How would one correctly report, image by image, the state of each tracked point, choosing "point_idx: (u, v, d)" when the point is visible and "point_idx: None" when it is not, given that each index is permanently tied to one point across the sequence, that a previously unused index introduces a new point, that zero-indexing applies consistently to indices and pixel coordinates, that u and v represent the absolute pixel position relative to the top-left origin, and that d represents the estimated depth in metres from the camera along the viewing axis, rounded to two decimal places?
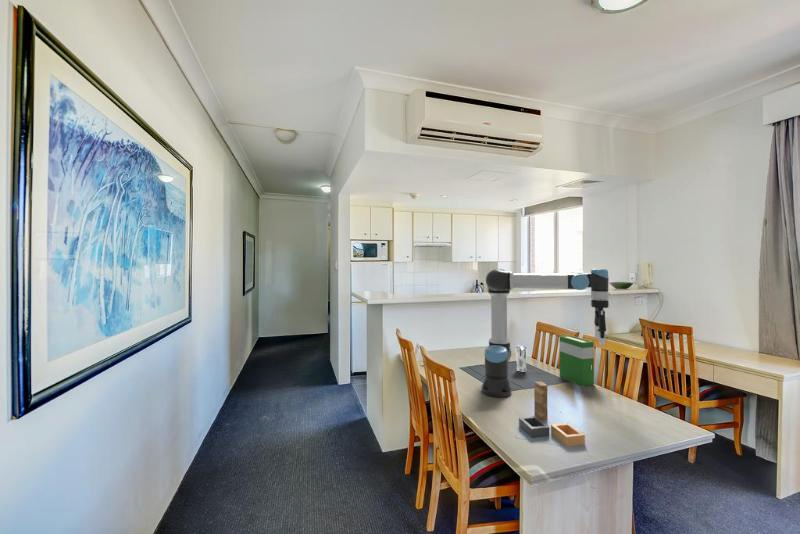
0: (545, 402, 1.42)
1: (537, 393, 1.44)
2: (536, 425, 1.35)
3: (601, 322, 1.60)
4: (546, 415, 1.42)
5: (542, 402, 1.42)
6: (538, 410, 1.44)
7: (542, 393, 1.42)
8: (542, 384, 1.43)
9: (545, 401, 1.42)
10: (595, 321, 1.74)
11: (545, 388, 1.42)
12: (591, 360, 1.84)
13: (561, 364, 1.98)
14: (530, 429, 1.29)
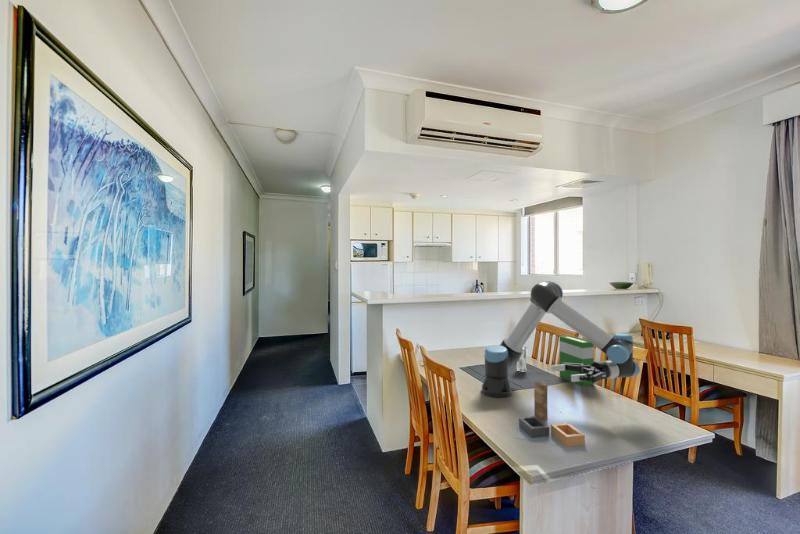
0: (545, 402, 1.42)
1: (537, 393, 1.44)
2: (536, 425, 1.35)
3: (598, 376, 1.39)
4: (546, 415, 1.42)
5: (542, 402, 1.42)
6: (538, 410, 1.44)
7: (542, 393, 1.42)
8: (542, 384, 1.43)
9: (545, 401, 1.42)
10: (570, 365, 1.53)
11: (545, 388, 1.42)
12: (591, 360, 1.84)
13: None
14: (530, 429, 1.29)
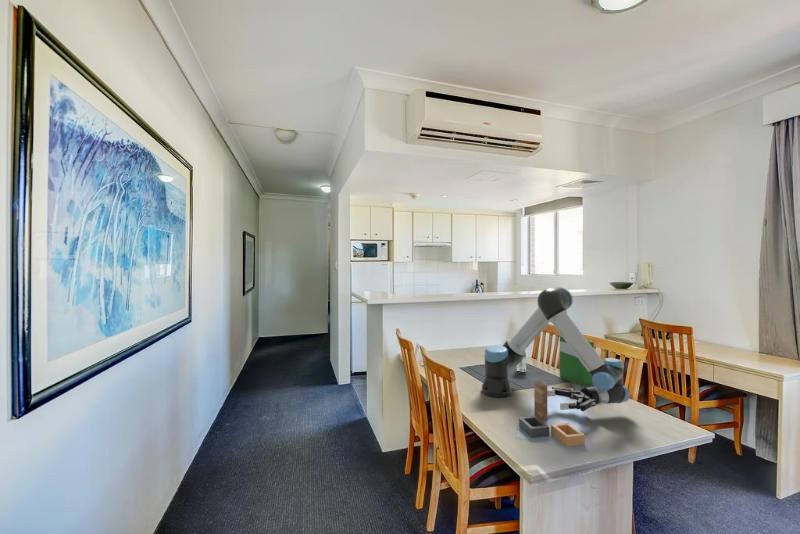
0: (545, 402, 1.42)
1: (537, 393, 1.44)
2: (536, 425, 1.35)
3: (587, 404, 1.38)
4: (546, 415, 1.42)
5: (542, 402, 1.42)
6: (538, 410, 1.44)
7: (542, 393, 1.42)
8: (542, 384, 1.43)
9: (545, 401, 1.42)
10: (560, 390, 1.52)
11: (545, 388, 1.42)
12: None
13: (561, 364, 1.98)
14: (530, 429, 1.29)
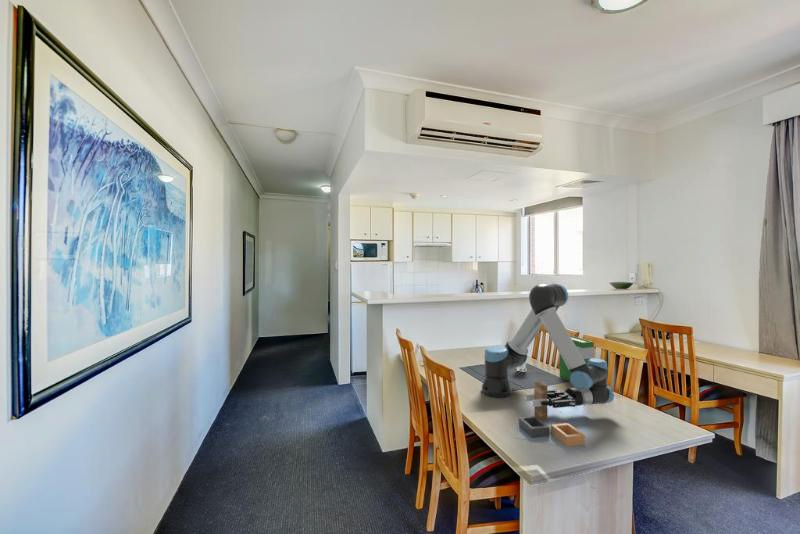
0: None
1: (537, 393, 1.44)
2: (536, 425, 1.35)
3: (562, 403, 1.39)
4: (546, 415, 1.42)
5: None
6: (538, 410, 1.44)
7: (542, 393, 1.42)
8: (542, 384, 1.43)
9: None
10: None
11: (545, 388, 1.42)
12: None
13: (561, 364, 1.98)
14: (530, 429, 1.29)
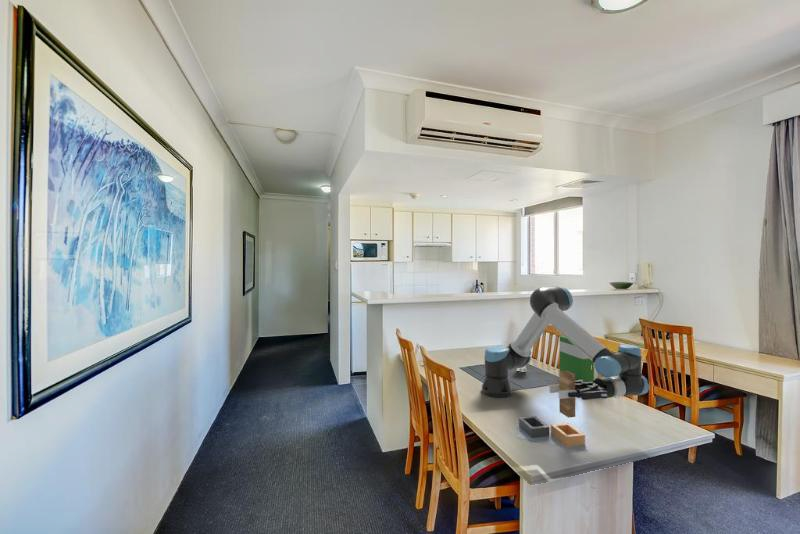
0: None
1: (563, 383, 1.27)
2: (536, 425, 1.35)
3: (592, 394, 1.22)
4: (574, 408, 1.25)
5: None
6: (564, 403, 1.26)
7: (569, 383, 1.24)
8: (569, 373, 1.26)
9: None
10: None
11: (572, 377, 1.25)
12: (591, 360, 1.84)
13: (561, 364, 1.98)
14: (530, 429, 1.29)
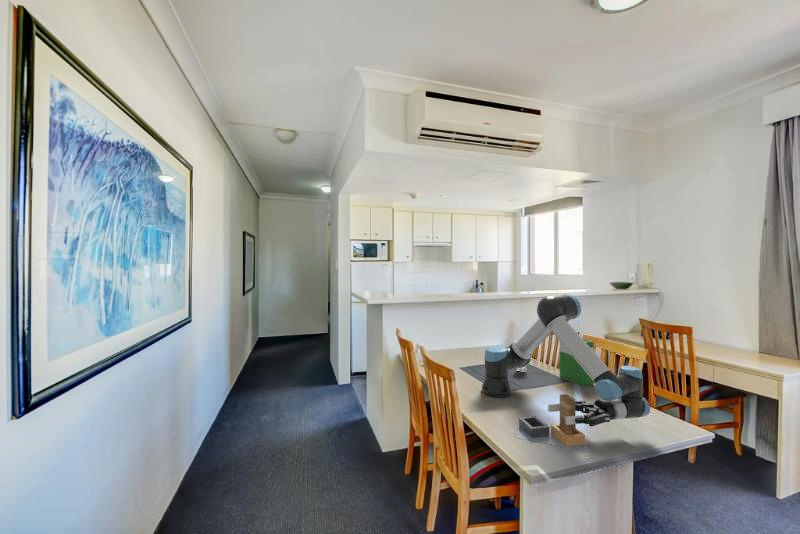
0: None
1: (563, 408, 1.26)
2: (536, 425, 1.35)
3: (598, 419, 1.20)
4: (574, 433, 1.24)
5: None
6: (564, 427, 1.26)
7: (569, 408, 1.24)
8: (569, 398, 1.25)
9: None
10: None
11: (573, 402, 1.24)
12: None
13: (561, 364, 1.98)
14: (530, 429, 1.29)
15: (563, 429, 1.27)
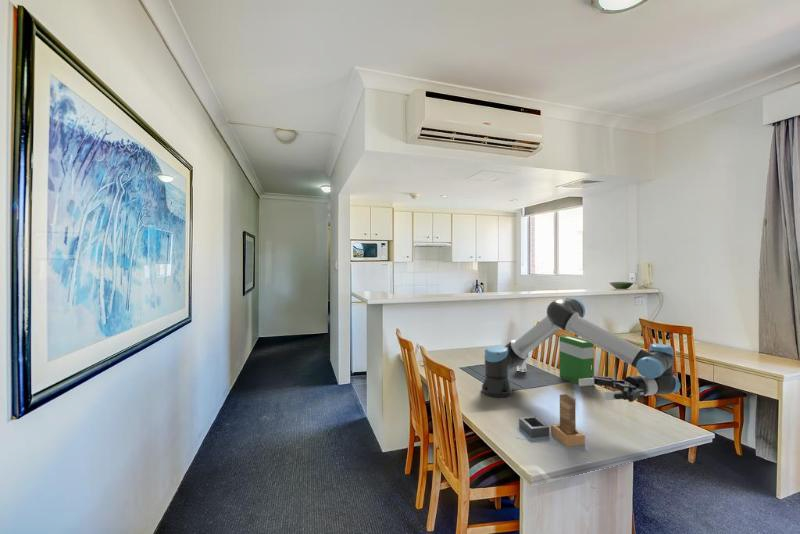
0: (573, 418, 1.24)
1: (563, 408, 1.26)
2: (536, 425, 1.35)
3: (635, 395, 1.21)
4: (574, 433, 1.24)
5: (570, 418, 1.24)
6: (564, 427, 1.26)
7: (569, 408, 1.24)
8: (569, 398, 1.25)
9: (573, 417, 1.24)
10: (600, 378, 1.35)
11: (573, 402, 1.24)
12: (591, 360, 1.84)
13: (561, 364, 1.98)
14: (530, 429, 1.29)
15: (563, 429, 1.27)
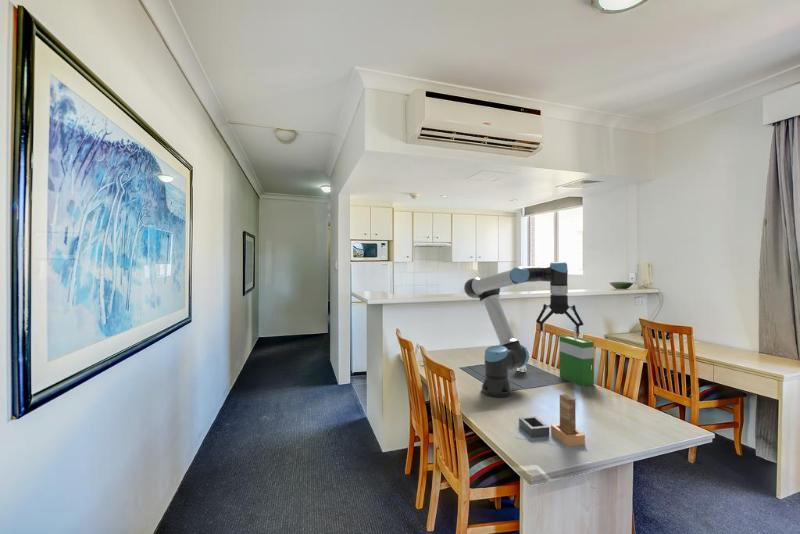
0: (573, 418, 1.24)
1: (563, 408, 1.26)
2: (536, 425, 1.35)
3: None
4: (574, 433, 1.24)
5: (570, 418, 1.24)
6: (564, 427, 1.26)
7: (569, 408, 1.24)
8: (569, 398, 1.25)
9: (573, 417, 1.24)
10: None
11: (573, 402, 1.24)
12: (591, 360, 1.84)
13: (561, 364, 1.98)
14: (530, 429, 1.29)
15: (563, 429, 1.27)
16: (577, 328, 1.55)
